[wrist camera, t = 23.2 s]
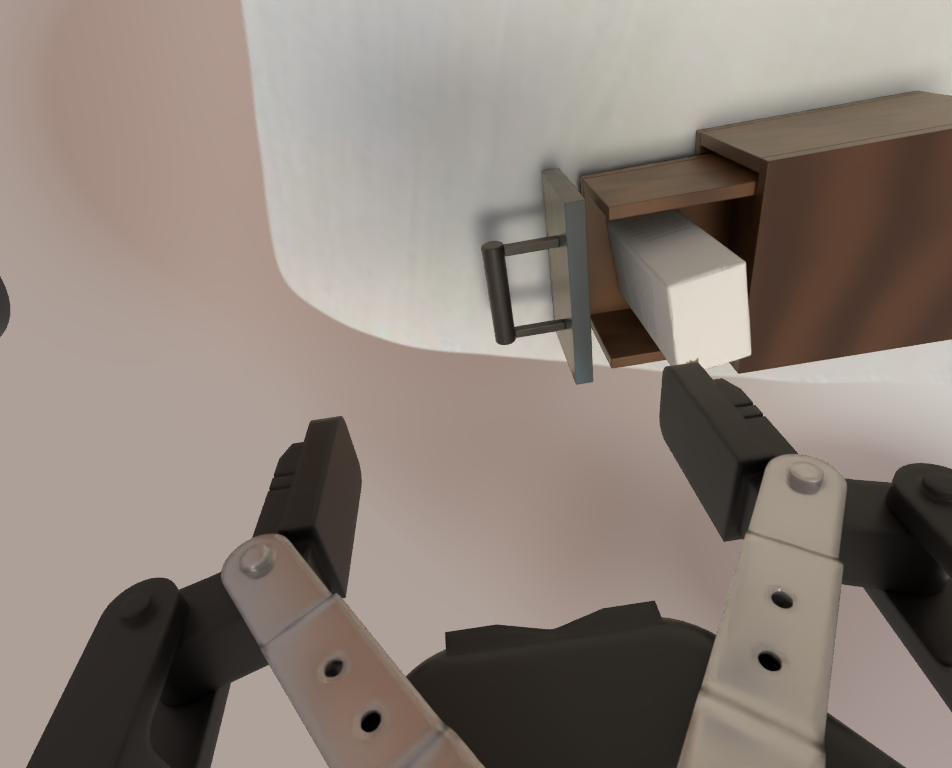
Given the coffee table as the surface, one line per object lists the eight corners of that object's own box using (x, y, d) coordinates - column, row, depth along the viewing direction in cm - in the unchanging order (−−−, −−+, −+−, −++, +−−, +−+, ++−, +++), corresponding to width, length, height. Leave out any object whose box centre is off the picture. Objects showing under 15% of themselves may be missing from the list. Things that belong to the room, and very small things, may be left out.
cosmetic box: (675, 274, 40) (753, 358, 30) (618, 293, 40) (677, 381, 31) (665, 195, 37) (749, 260, 27) (604, 216, 37) (664, 287, 27)
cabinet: (684, 310, 44) (738, 374, 36) (696, 130, 36) (768, 161, 28) (865, 279, 43) (961, 337, 35) (916, 90, 36) (1054, 110, 28)
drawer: (495, 340, 43) (505, 396, 37) (470, 183, 36) (477, 218, 30) (724, 302, 43) (775, 352, 36) (743, 134, 36) (810, 159, 29)
